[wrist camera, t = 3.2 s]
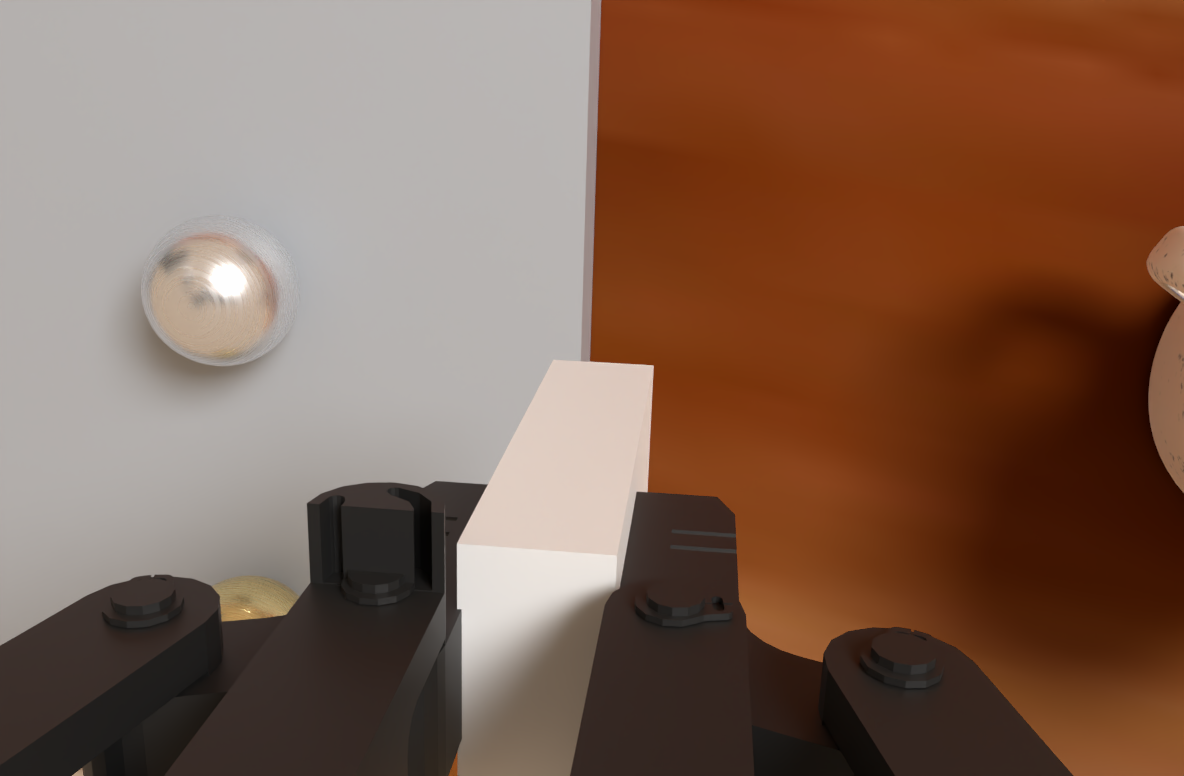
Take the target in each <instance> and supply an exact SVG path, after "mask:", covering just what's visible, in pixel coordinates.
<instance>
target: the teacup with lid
mask: <svg viewBox="0 0 1184 776" xmlns="http://www.w3.org/2000/svg"><path fill="white" fill-rule="evenodd" d="M1147 268H1148V271H1149V274H1150V275H1151V277H1152V278H1153V279H1154V280H1155V281H1156V282H1157V283H1158V284H1159V285H1160V286H1161V287H1162V288H1164V289H1165V290H1166V291H1167V292H1169V293H1170V294H1171V295H1173V296H1174V297H1175V298H1177V299H1178V300H1179V301H1181V302H1180V304H1179V305H1178V307H1177V308H1176V310H1175V311H1174V313H1173V315H1172V316H1171V318H1170V320H1169V322H1168V324H1167V326H1166V328H1165V330H1164V332H1163V334H1162V337H1161V339H1160V342H1159V344H1158V347H1157V350H1156V353H1155V357H1154V360H1153V364H1152V370H1151V375H1150V381H1149V392H1148V408H1149V418H1150V426H1151V430H1152V434H1153V438H1154V442H1155V445H1156V447H1157V450H1158V453H1159V455H1160V457H1161V459H1162V461H1163V463H1164V465H1165V467H1166V469H1167V471H1168V472H1169V474H1170V475H1171V477H1172V478H1173V480H1174V481H1175V483H1176V484H1177V486H1178V487H1179V488H1180V489H1181V490H1182V492H1183V493H1184V226H1180V227H1176V228H1174V229H1172V230H1171V231H1169V232H1168V233H1167V234H1166V235H1165V236H1164V237H1163V238H1162V239H1161V241H1160V242H1159V243H1158V244H1157V245H1156V246H1155V248H1154V249H1153V250H1152V251H1151V253H1150V254H1149V256H1148V259H1147Z"/></svg>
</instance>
